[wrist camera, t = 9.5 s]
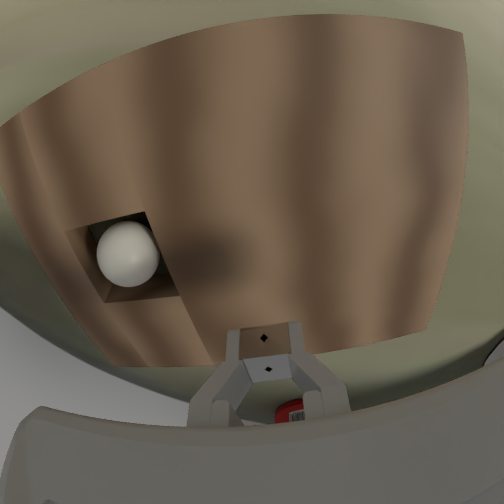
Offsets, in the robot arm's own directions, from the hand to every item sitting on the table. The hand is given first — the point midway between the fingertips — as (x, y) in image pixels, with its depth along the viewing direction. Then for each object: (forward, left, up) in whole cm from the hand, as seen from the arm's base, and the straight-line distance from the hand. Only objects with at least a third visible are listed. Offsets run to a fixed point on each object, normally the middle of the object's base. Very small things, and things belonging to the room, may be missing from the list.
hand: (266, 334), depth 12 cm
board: (+2, -1, -8) cm, 8 cm away
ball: (+8, -2, -6) cm, 10 cm away
